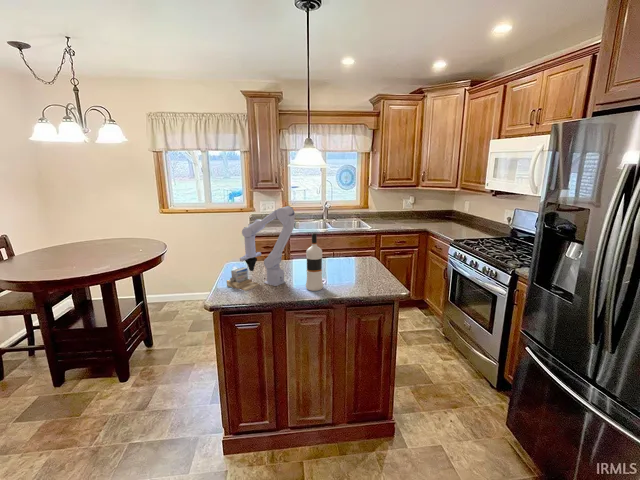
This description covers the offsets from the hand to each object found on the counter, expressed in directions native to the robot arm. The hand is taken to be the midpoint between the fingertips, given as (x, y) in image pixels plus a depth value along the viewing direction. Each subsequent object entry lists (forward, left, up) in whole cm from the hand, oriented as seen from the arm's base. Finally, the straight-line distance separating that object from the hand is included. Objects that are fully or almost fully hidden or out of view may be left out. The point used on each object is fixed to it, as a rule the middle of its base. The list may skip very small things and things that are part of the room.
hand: (251, 270), depth 184 cm
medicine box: (0, +9, -6) cm, 10 cm away
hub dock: (-3, +10, -5) cm, 11 cm away
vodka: (-37, -9, -6) cm, 39 cm away
